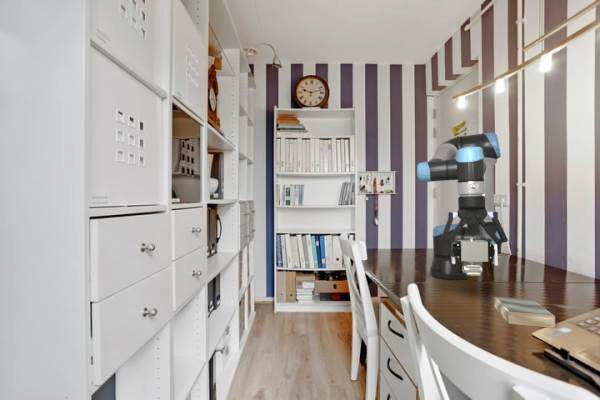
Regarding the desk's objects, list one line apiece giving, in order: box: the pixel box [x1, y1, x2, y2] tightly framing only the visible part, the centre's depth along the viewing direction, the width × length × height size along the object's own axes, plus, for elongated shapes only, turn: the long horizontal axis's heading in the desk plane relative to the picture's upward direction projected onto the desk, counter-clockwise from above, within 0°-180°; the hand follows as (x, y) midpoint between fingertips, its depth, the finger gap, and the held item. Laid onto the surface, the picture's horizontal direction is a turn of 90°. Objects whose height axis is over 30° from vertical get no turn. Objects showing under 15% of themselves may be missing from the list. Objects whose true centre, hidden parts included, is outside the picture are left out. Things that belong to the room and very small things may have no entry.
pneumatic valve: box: [451, 237, 495, 277], centre depth 95 cm, size 6×12×12 cm, turn 78°
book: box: [493, 296, 556, 328], centre depth 83 cm, size 14×10×3 cm
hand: (473, 263), depth 95 cm, fingers closed on pneumatic valve, 11 cm apart
